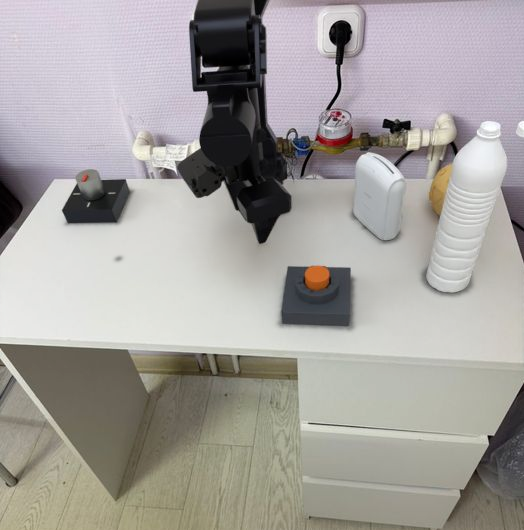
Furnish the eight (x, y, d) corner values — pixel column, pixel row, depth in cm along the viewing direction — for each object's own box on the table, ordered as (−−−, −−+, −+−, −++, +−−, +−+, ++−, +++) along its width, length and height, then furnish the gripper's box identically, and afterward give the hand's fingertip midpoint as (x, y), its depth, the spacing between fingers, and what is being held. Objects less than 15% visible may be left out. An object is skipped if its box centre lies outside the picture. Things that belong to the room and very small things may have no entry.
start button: (329, 274, 75) (329, 265, 74) (328, 291, 73) (328, 282, 72) (305, 273, 76) (305, 265, 74) (304, 290, 73) (304, 281, 72)
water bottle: (425, 291, 77) (463, 138, 57) (425, 263, 81) (460, 110, 61) (485, 296, 75) (545, 139, 56) (482, 267, 79) (537, 111, 59)
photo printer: (349, 213, 90) (352, 150, 81) (368, 205, 91) (375, 142, 82) (381, 244, 84) (389, 180, 75) (402, 236, 85) (413, 171, 76)
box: (349, 279, 80) (351, 258, 76) (348, 326, 74) (350, 305, 70) (288, 278, 81) (287, 257, 78) (282, 323, 75) (280, 303, 72)
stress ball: (487, 205, 89) (504, 153, 81) (477, 238, 83) (494, 186, 76) (431, 195, 92) (442, 144, 84) (418, 226, 87) (428, 175, 79)
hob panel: (130, 191, 101) (125, 178, 99) (116, 222, 95) (111, 208, 92) (83, 192, 102) (78, 179, 100) (67, 223, 96) (61, 209, 94)
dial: (87, 187, 98) (78, 168, 94) (108, 187, 97) (100, 167, 94) (80, 200, 95) (71, 181, 92) (101, 200, 95) (94, 180, 91)
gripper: (156, 110, 66) (181, 209, 78) (200, 177, 55) (220, 281, 67) (233, 88, 68) (246, 188, 80) (291, 149, 57) (295, 255, 69)
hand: (250, 225), depth 74 cm, fingers open, 9 cm apart
